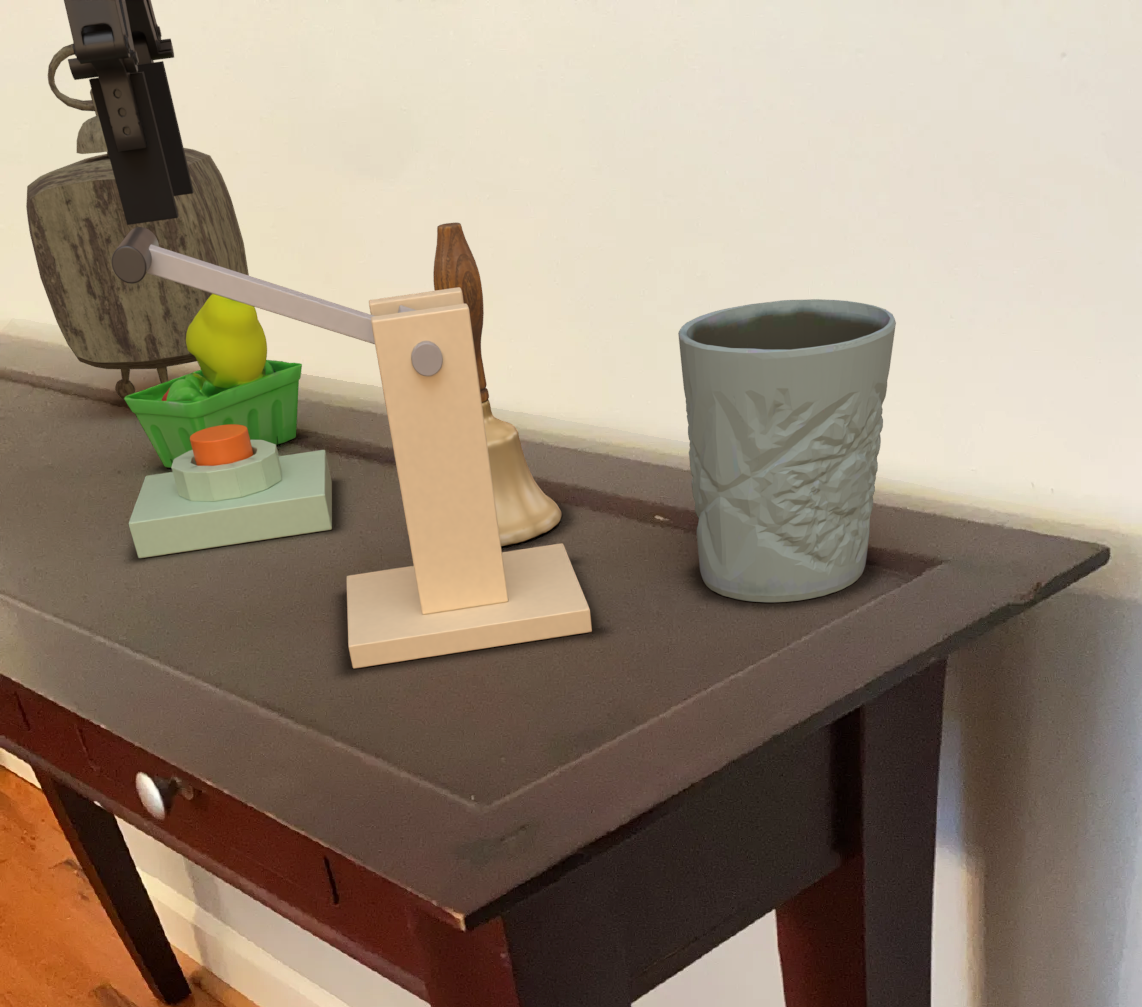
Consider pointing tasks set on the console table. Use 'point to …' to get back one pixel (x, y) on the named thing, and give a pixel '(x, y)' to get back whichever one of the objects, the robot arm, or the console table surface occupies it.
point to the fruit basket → (221, 384)
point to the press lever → (235, 286)
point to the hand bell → (513, 484)
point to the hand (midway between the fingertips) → (162, 207)
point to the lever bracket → (449, 508)
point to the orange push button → (221, 445)
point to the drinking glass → (785, 442)
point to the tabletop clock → (94, 231)
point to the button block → (232, 501)
